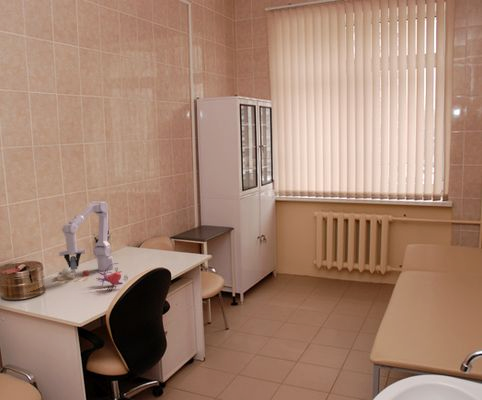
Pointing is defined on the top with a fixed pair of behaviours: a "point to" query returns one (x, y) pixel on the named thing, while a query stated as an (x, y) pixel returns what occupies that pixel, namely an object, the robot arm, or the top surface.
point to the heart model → (111, 277)
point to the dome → (66, 271)
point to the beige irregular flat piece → (71, 277)
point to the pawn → (73, 263)
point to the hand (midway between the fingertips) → (73, 266)
